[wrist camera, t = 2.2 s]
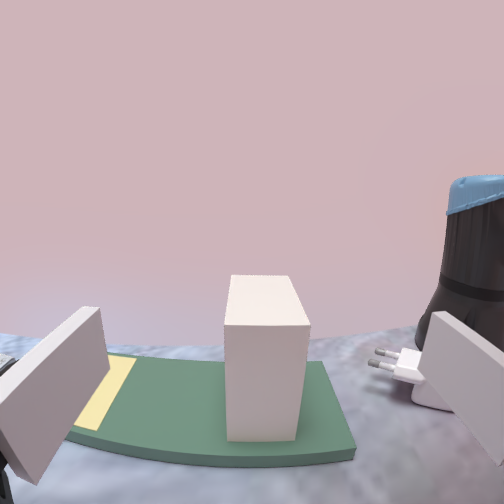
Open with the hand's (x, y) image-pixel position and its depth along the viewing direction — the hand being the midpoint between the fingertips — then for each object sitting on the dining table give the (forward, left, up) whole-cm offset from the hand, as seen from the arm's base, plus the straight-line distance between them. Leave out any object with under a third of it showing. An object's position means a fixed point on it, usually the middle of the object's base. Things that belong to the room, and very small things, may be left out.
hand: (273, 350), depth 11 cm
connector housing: (0, -11, -12) cm, 16 cm away
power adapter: (-16, -12, -14) cm, 24 cm away
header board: (+8, -11, -14) cm, 19 cm away
